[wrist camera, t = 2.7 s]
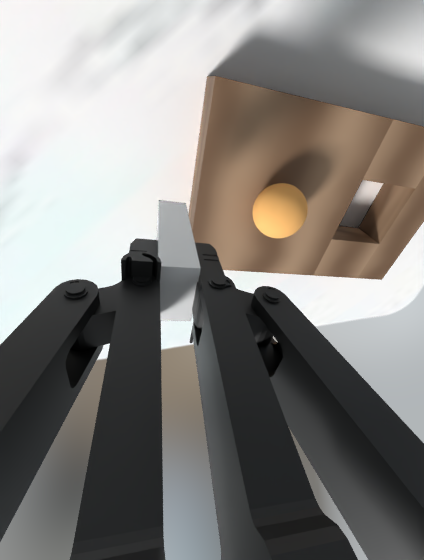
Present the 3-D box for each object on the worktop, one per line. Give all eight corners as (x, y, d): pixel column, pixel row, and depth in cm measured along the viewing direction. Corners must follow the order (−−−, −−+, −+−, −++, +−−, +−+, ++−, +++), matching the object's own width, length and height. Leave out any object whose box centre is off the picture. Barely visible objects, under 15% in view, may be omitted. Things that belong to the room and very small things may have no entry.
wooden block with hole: (184, 248, 26) (186, 267, 23) (207, 76, 18) (215, 75, 15) (362, 262, 31) (381, 279, 29) (444, 133, 23) (481, 140, 20)
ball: (254, 172, 19) (272, 190, 16) (301, 180, 20) (327, 198, 17) (241, 221, 21) (254, 245, 18) (284, 226, 22) (304, 250, 19)
